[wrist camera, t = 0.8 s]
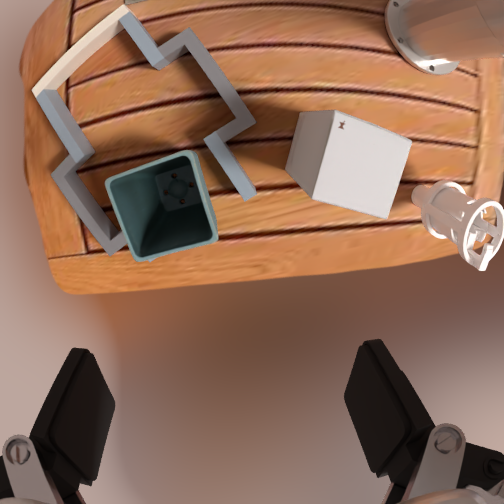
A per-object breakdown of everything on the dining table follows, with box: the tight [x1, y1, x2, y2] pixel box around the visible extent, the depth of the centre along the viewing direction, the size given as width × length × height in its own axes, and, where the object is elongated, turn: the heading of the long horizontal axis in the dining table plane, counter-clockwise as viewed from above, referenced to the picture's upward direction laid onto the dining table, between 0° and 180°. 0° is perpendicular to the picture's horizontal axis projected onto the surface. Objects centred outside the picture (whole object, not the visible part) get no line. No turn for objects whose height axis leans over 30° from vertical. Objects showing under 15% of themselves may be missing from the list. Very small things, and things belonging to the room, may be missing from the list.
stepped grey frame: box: [32, 4, 257, 262], centre depth 28 cm, size 23×28×3 cm
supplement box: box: [285, 110, 412, 219], centre depth 26 cm, size 7×7×13 cm
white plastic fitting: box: [411, 180, 504, 271], centre depth 28 cm, size 7×7×15 cm
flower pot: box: [105, 150, 218, 262], centre depth 29 cm, size 9×9×9 cm
